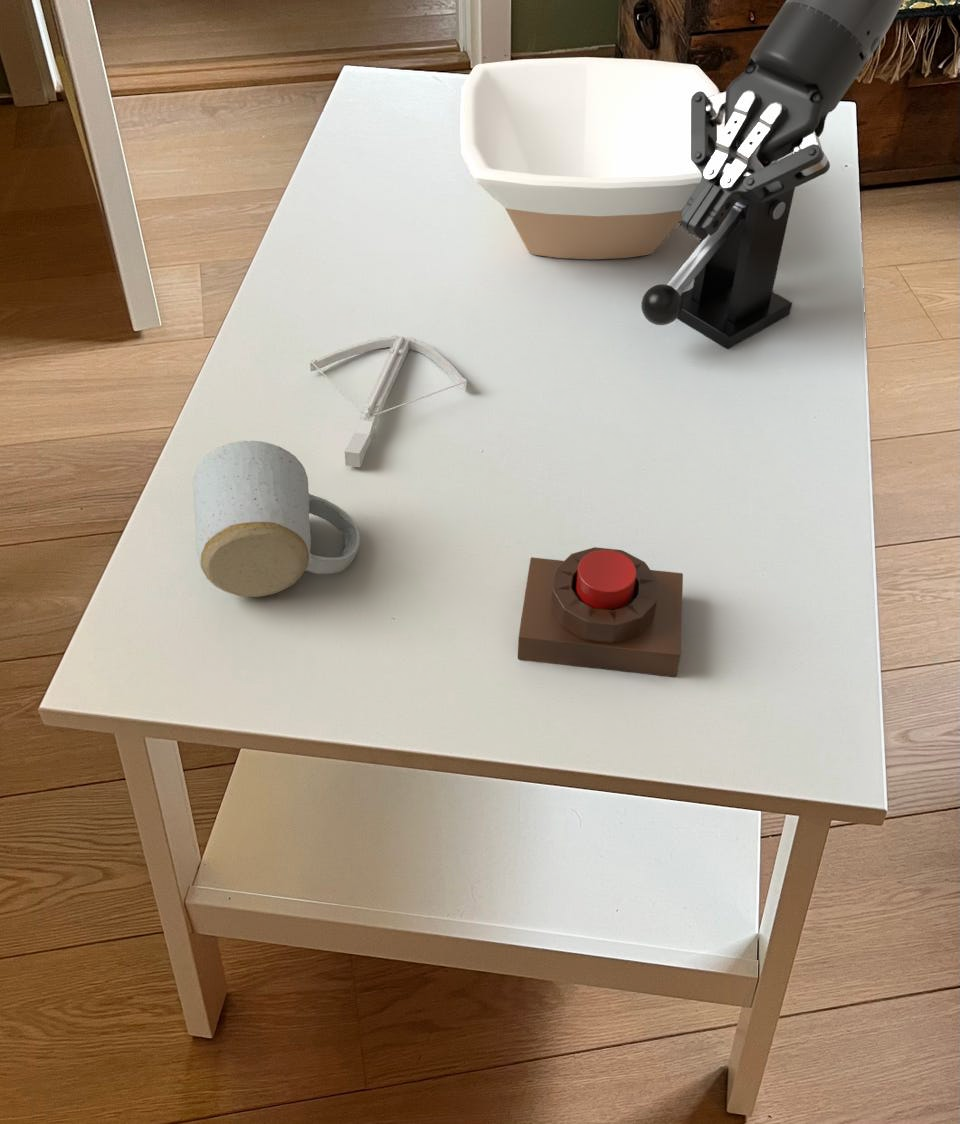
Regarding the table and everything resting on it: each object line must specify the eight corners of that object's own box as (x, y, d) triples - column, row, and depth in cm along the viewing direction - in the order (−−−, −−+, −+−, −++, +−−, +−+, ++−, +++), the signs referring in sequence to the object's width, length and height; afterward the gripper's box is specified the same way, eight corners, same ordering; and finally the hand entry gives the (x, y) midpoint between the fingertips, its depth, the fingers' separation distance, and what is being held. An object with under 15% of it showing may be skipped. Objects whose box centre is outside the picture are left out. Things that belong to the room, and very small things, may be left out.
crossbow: (331, 343, 99) (329, 322, 98) (478, 361, 98) (479, 340, 96) (270, 456, 88) (267, 434, 86) (436, 479, 86) (436, 457, 85)
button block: (678, 595, 79) (686, 553, 76) (676, 677, 74) (684, 635, 71) (529, 579, 80) (531, 537, 77) (517, 659, 75) (519, 617, 72)
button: (634, 571, 75) (637, 552, 74) (632, 613, 73) (635, 594, 72) (578, 565, 76) (580, 546, 74) (573, 607, 73) (575, 588, 72)
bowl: (460, 297, 103) (459, 184, 95) (461, 160, 120) (460, 55, 112) (732, 297, 103) (753, 185, 96) (694, 160, 120) (709, 56, 113)
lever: (669, 339, 95) (657, 320, 92) (640, 321, 96) (628, 302, 94) (781, 201, 94) (772, 177, 91) (750, 185, 96) (741, 162, 93)
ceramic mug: (206, 612, 77) (188, 528, 72) (201, 526, 83) (185, 442, 77) (367, 592, 79) (362, 508, 73) (353, 509, 84) (347, 425, 79)
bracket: (727, 349, 98) (754, 209, 89) (666, 312, 102) (686, 173, 92) (790, 314, 102) (822, 175, 92) (728, 279, 105) (753, 143, 96)
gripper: (741, -25, 88) (609, 178, 91) (888, 31, 81) (739, 249, 84) (774, 30, 94) (649, 218, 98) (913, 86, 88) (773, 287, 91)
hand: (691, 232), depth 91 cm, fingers closed
